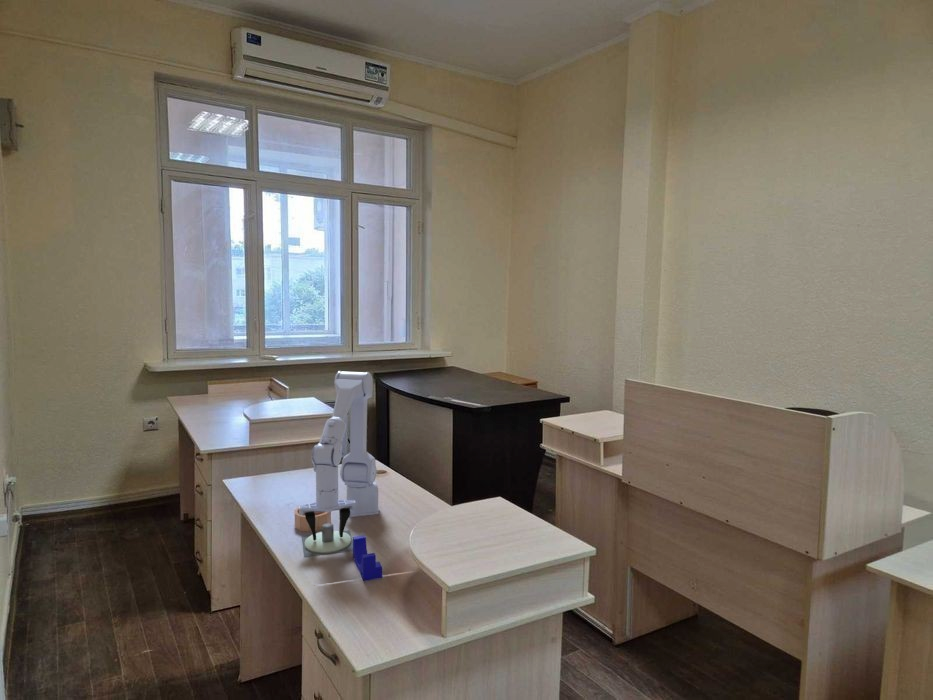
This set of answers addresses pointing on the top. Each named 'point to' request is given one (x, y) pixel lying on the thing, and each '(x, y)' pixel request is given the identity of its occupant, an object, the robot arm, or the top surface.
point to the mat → (309, 553)
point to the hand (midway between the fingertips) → (327, 537)
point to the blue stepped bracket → (365, 560)
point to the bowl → (320, 520)
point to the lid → (327, 540)
